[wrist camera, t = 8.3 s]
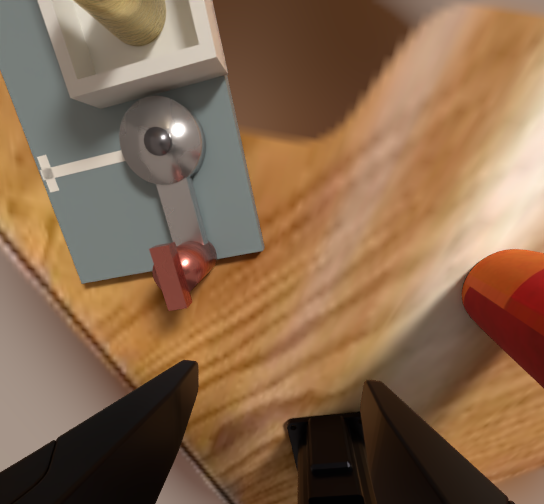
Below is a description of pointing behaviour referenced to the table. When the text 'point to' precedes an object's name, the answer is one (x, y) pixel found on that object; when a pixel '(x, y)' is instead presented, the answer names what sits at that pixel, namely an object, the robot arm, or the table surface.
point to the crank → (171, 190)
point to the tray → (133, 53)
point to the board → (118, 160)
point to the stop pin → (128, 18)
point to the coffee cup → (510, 305)
